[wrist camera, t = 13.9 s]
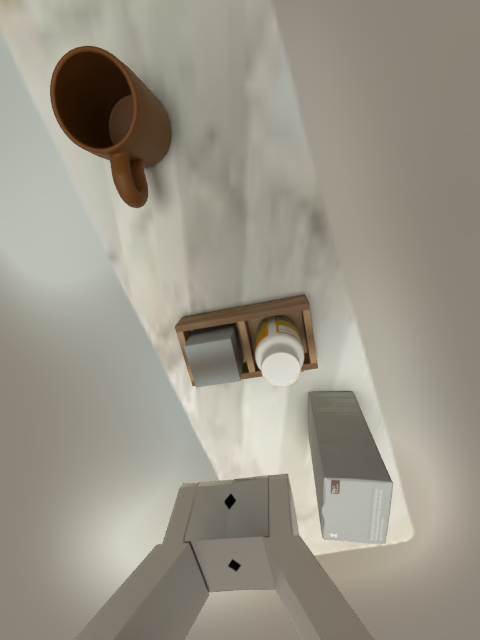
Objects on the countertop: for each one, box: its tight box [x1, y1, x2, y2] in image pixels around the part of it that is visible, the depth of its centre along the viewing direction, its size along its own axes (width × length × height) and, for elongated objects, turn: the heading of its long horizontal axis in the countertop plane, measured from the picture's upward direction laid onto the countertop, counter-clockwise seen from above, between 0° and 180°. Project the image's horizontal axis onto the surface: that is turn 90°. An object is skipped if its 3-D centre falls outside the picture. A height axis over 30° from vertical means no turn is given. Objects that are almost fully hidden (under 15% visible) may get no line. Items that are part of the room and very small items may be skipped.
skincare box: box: [308, 392, 393, 544], centre depth 36 cm, size 8×7×16 cm
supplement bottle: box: [255, 315, 304, 387], centre depth 34 cm, size 5×5×10 cm
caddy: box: [175, 295, 318, 387], centre depth 37 cm, size 9×16×7 cm, turn 102°
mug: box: [50, 46, 171, 208], centre depth 29 cm, size 12×8×9 cm, turn 13°
